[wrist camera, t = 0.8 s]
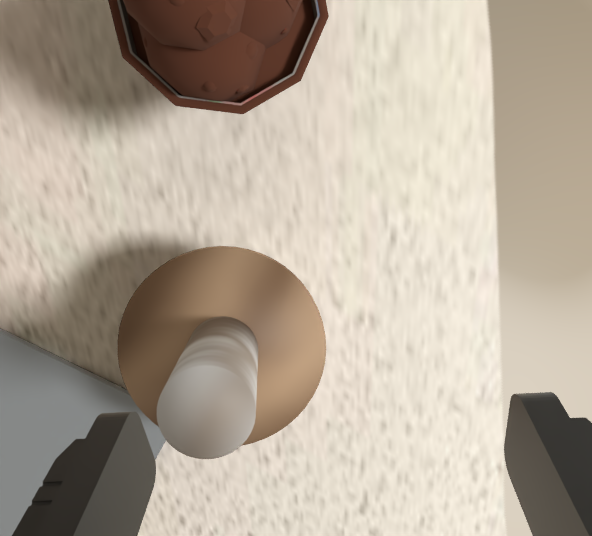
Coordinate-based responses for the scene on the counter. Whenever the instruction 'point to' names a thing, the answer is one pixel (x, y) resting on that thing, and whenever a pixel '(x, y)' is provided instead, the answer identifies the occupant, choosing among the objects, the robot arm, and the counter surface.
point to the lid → (221, 349)
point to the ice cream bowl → (219, 47)
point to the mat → (47, 418)
